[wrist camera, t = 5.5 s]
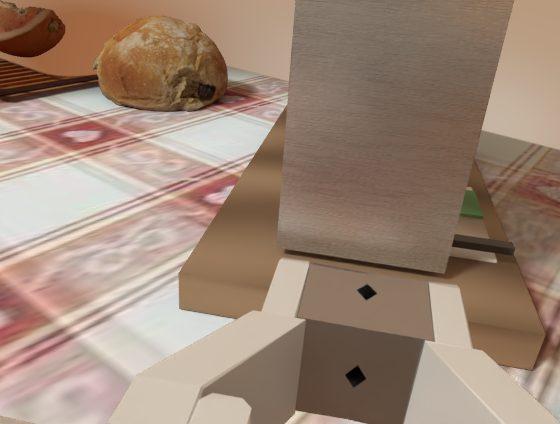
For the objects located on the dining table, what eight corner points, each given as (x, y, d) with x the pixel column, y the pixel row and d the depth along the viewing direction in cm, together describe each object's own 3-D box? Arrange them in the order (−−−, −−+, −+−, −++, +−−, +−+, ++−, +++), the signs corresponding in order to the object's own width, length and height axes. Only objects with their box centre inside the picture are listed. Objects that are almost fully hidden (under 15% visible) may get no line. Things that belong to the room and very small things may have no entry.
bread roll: (146, 164, 39) (179, 75, 35) (58, 82, 42) (77, -13, 37) (227, 132, 47) (264, 55, 42) (149, 64, 49) (175, -17, 44)
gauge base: (531, 370, 17) (718, -115, 11) (179, 308, 19) (169, -147, 13) (456, 146, 37) (508, -76, 30) (285, 125, 38) (302, -90, 32)
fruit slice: (83, 59, 53) (77, 5, 50) (27, 70, 47) (18, 11, 45) (22, 46, 56) (14, -4, 53) (-37, 56, 50) (-49, 0, 48)
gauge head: (521, 285, 18) (630, -35, 14) (276, 247, 19) (300, -61, 15) (487, 200, 24) (555, -41, 20) (303, 174, 25) (326, -59, 21)
